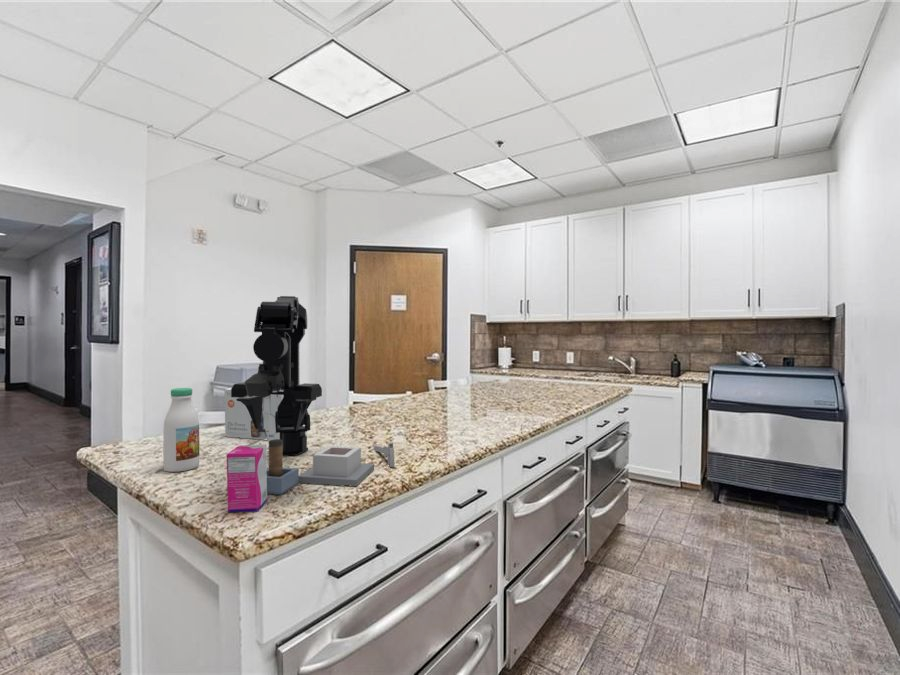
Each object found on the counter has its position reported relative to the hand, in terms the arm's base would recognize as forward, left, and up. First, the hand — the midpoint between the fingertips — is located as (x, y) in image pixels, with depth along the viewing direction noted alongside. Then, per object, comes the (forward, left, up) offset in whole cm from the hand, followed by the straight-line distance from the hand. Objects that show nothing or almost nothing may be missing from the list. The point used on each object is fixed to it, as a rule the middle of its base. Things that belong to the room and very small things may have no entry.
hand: (276, 429), depth 96 cm
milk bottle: (-31, +9, -13) cm, 35 cm away
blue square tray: (0, 0, -13) cm, 13 cm away
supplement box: (0, -10, -13) cm, 17 cm away
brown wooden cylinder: (0, 0, -12) cm, 12 cm away
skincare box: (-31, +41, -13) cm, 53 cm away
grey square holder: (+10, +10, -13) cm, 19 cm away
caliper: (+16, +27, -13) cm, 34 cm away
